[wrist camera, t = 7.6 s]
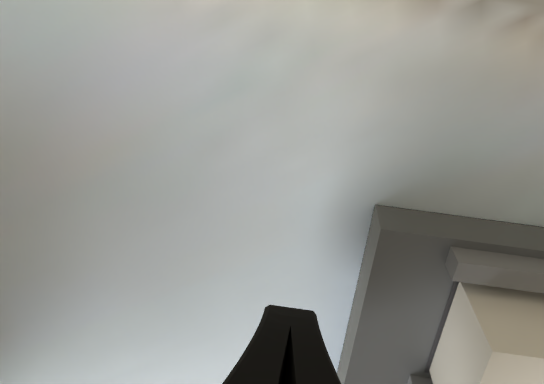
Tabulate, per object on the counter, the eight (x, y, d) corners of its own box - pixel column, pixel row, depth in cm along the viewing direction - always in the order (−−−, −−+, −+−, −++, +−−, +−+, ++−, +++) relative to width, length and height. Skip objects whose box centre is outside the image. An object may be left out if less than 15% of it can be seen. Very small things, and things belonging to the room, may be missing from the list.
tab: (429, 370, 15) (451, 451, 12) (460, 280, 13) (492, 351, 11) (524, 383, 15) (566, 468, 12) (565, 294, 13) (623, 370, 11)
